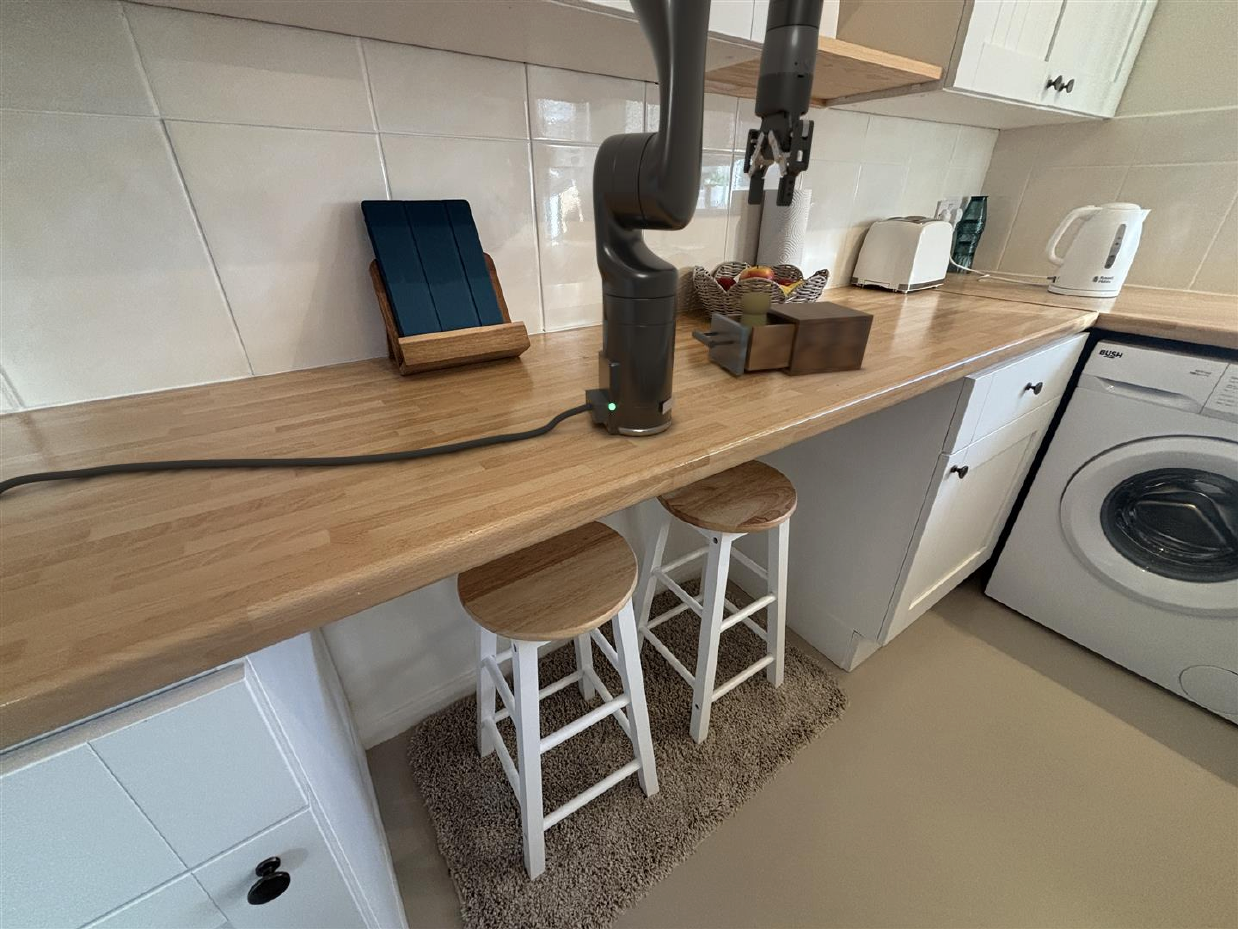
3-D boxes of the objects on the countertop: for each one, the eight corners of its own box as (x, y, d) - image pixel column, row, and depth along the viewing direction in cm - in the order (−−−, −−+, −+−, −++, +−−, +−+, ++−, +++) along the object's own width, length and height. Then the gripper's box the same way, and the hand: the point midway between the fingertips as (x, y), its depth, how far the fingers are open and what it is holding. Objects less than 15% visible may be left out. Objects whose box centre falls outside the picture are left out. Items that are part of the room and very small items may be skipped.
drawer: (711, 377, 82) (716, 330, 78) (684, 357, 91) (687, 314, 88) (806, 368, 86) (815, 323, 82) (771, 350, 96) (778, 309, 92)
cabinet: (789, 376, 85) (800, 319, 81) (753, 355, 96) (760, 304, 91) (860, 369, 89) (874, 315, 84) (817, 350, 99) (827, 301, 95)
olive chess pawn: (762, 352, 91) (772, 290, 86) (768, 362, 86) (778, 296, 80) (729, 351, 91) (736, 289, 86) (732, 360, 86) (740, 295, 81)
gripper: (737, 82, 74) (725, 204, 82) (791, 61, 62) (771, 206, 70) (781, 85, 76) (765, 204, 84) (842, 65, 64) (816, 206, 72)
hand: (768, 205), depth 77 cm, fingers open, 8 cm apart
